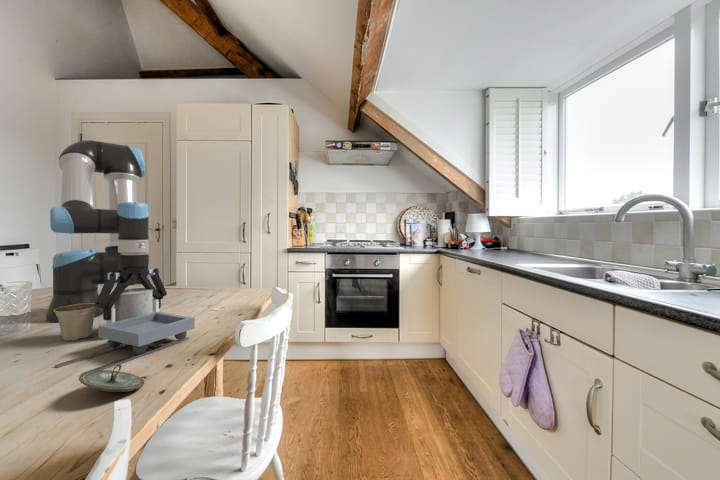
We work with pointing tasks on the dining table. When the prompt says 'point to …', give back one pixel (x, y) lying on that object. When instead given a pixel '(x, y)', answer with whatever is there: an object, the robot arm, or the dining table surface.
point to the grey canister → (133, 303)
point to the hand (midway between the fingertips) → (134, 324)
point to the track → (154, 344)
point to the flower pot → (76, 320)
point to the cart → (145, 330)
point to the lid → (112, 380)
